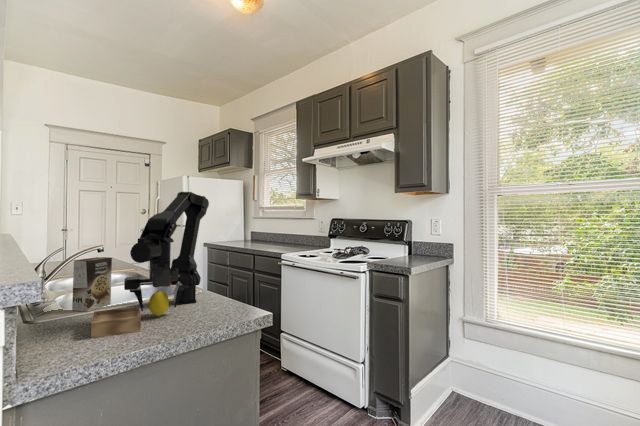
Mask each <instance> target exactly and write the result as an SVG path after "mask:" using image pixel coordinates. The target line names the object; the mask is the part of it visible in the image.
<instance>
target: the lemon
mask: <svg viewBox="0 0 640 426" xmlns="http://www.w3.org/2000/svg"><path fill="white" fill-rule="evenodd" d="M169 301H170V300H169V296H168V294H167V293H166V292H164V291H162V290H157V291H155V292H154V293H153V294H152V295H151V296H150V297H149V301H148V308H149V311H150V313H151V314H153V315H155V316H156V317H161V316H162V315H163V314H165V313H166V312H167V310H168V309H169V305H170V302H169Z"/></svg>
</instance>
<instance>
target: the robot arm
mask: <svg viewBox="0 0 640 426" xmlns="http://www.w3.org/2000/svg"><path fill="white" fill-rule="evenodd" d="M209 205H210V202H209V199H208V198H207V197H206V196H204V195H200V194H196V193H194V192H192V191H179V192H178V193H177V194H176V197H175V198H174V199H173V200H172V201H171V202H170V203H169V205H168V206H166V208H165V209H164V210H163V211H161V212H159V213H156V214H153V215H152V216H151V217H150V218H149V219H148V220H147V222H146V224H145V226H144V228H143V229H142V232H141V234H140V237H139V238H137V243H135V244H133V246H132V247H131V249H130V257H131V259H132V260H133V261H134V262H136V263H138V264H143V263H147V262H149V271H148V272H149V275H148V277H149V278H140V276H126V277H124V284H123V285H124V286H123V287H124V291H129V293H133V294H134V295H135V297H136V298H137V302H138V304H139V309H140V310H141V311H140V312H143V311H144V301H143V294H142V292H143V291H142V288H141V286H149V285H150V286H152V287H153V288H161V287H167V288H168V287H170V286H175V288H174V289H173V307H174V308H177V305H185V304H192V303H193V304H194V303H197V302H198V301H197V300H196V290H197V286H199V285H200V283H201V279H202V278H201V276H200V274H199V272H198V270H197V268H198V264H197V262H196V261H195V252H196V247H197V241H198V235H199V229H200V223H201V220H202V219H203V218H204V216H205V215H206V214H207V210H208V208H209ZM183 214H184V215H185V217H186V218H185V223H184V224H185V225H184V228H183V235H182V240H181V243H180V249H179V250H180V251H179V255H178V256H177V257H176V258H173V259H172V261H171V249H172V248H171V245H172V244H171V243H174V242H175V240H174V239H173V238H172V235H174V233H175V231H176V230H177V227H178V226H177V225H178V224H177V221H178V220H179V218H180V217H181V216H182V215H183Z"/></svg>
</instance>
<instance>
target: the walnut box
mask: <svg viewBox="0 0 640 426" xmlns="http://www.w3.org/2000/svg"><path fill="white" fill-rule="evenodd" d="M140 310H141V309H140V306H134V307H133V306H132V307H123V308H122V307H121V308H113V309H105V310H96V311H93V316H92V318H91V325H90V326H91V327H90V329H91V330H90V339H99V338H105V337H111V336H118V335H124V334H133V333H139V332H141V331H142V330H141V329H142V327H141V324H142V323H141V322H142V317H141V311H140Z"/></svg>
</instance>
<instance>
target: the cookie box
mask: <svg viewBox="0 0 640 426" xmlns="http://www.w3.org/2000/svg"><path fill="white" fill-rule="evenodd" d="M112 262H113V257H104V256H103V257H102V256H101V257H97V256H95V257H90V258H89V257H88V258H82V259H74V260H73V272H72V273H73V275H72V276H73V277H72V299H71V300H72V301H71V304H72V305H71V310H72V311H79V312H87V313H88V312H91V311H93V310H98V309H100V308H104V307H107V306H110V305H111V302H112V268H113V267H112V266H113V263H112Z"/></svg>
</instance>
